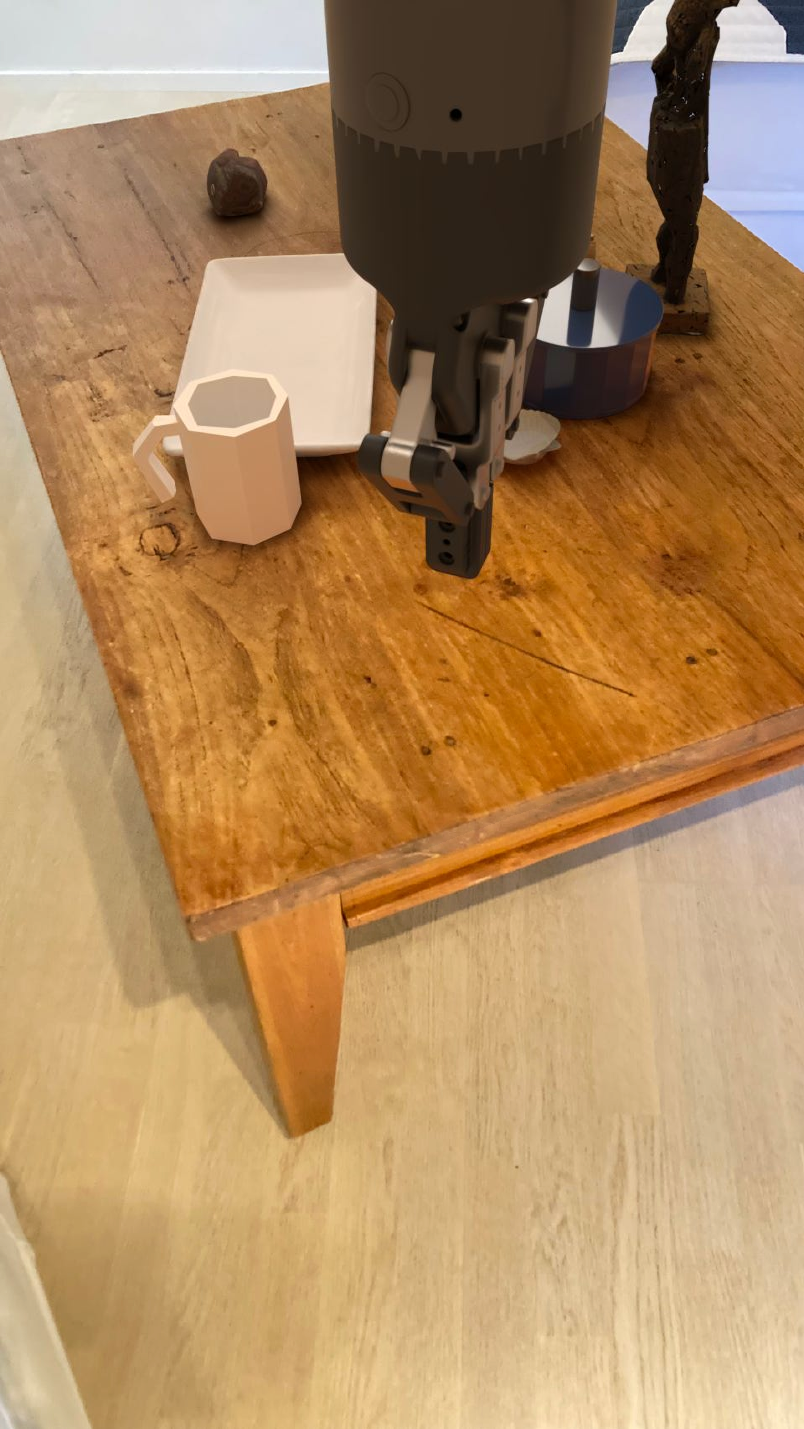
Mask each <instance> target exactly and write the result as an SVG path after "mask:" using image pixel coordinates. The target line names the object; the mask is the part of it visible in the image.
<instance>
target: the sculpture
mask: <svg viewBox="0 0 804 1429" xmlns="http://www.w3.org/2000/svg"><path fill="white" fill-rule="evenodd" d="M740 2H741V0H673V3H672V5H671V7H670V9H669V11H668V13H667V16H666V18H665V28H666V36H665V42H666V44H665V45H664V46H663V48H661V50H660V51H659V52H658V53H657V55H656V56H655V57H653V60H652V62H651V66H650V70H651V72H652V74H653V75H654V82H655V88H656V96H654V97H653V100H652V105H651V111H650V113H649V114H650V115H649V120H648V121H649V130H648V131H649V132H648V138H647V140H648V141H647V152H646V161H645V170H646V172H645V173H646V177H645V178H646V181H647V182H648V184H649V187H650V189H651V191H652V193H653V196H654V198H655V200H656V202H657V205H658V207H659V209H660V211H661V214H662V216H663V218H664V220H663V222H662V223H661V224H660V226H659V227H658V230H657V233H656V236H655V243H656V249H657V251H658V263H657V264H646V263H627V265H626V266H625V271H624V273H626V274H629V275H631V276H633V277H636V278H638V279H640V280H641V281H643V282H645V283H646V284H648V285H649V286H650V287H651V288H653V289H654V290H655V291H656V293H657V294H658V295H659V297H660V298H661V300H662V303H663V307H664V311H663V318H662V322H661V324H660V326H659V328H658V329H657V332H656V334H660V333H664V334H665V333H671V334H688V335H698V336H699V335H704V334H705V333H707V332H709V331H708V327H709V326H708V325H709V323H710V315H711V307H710V298H709V282H708V275H707V270H706V269H704V268H696V267H693V265H694V257H695V253H696V249H697V247H698V246H697V245H698V241H699V238H700V228H699V225H698V224H697V223H698V219H699V218H698V217H699V212H700V210H701V208H702V204H703V197H704V191H705V188H704V185H705V184H708V183H709V181H710V174H709V173H710V172H709V144H710V142H709V135H710V90H711V78H712V77H711V76H712V70H713V69H712V68H713V62H714V58H715V55H716V51H717V49H718V48H717V47H718V44H719V42H720V40H721V26H719V25H718V21H717V19H718V17H719V16H720V14H721V13H722V11H723V10H724V9H728V8H732V7H733V8H737V7H738V5H739V4H740ZM679 311H683V312H680V313H679ZM691 327H692V328H691Z"/></svg>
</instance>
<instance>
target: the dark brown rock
mask: <svg viewBox="0 0 804 1429" xmlns="http://www.w3.org/2000/svg"><path fill="white" fill-rule="evenodd" d="M206 190H207V195H208V199H209V201H210V204H211V206H212V208H213V210H214V212H215V214H216V215H218V216H219V217H235V216H244V215H249V214H253V213H256V212H258V211H259V210H260V209H262V207H263V206H264V201H265V199H266V193H267V190H268V178H267V175H266V172H265V170H264V169H263V167H262V166H261V164H260V161H259V160H258V159H256V158H254V157H251V156H240V154H239V152H238V150H237V149H235V148H230V147H229V148H226V149H224V150H223V151H222V152H221V153H220V154H218V155H216V157H215V158H214V159H213V160H211V162H210V165H209V167H208V171H207V175H206Z"/></svg>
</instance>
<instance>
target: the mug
mask: <svg viewBox="0 0 804 1429" xmlns="http://www.w3.org/2000/svg"><path fill="white" fill-rule="evenodd" d="M173 409H174V413H175V415H170V414H168V415H167V414H165V415H160V414H159V415H154V417H153V418H152V419H151V420H150V422H149V423H148V424H147V425H146V427H145V428H144V430H143V431H141V433H140V435H139V436H138V437H137V439H135V441H133V446H132V455H131V458H132V460H133V461H134V463H135V465H136V466H137V468H138V469H139V471H140V472H141V474H142V475H143V477H144V478H145V480H146V481H147V483H148V484H149V486H150V487H151V489H152V491H153V492H154V494H155V495H156V497H157V498H158V499H159V502H161V503H162V504H163V503H165V502H167V501H169V500H172V499H173V498H174V497H175V495H176V493H177V489H176V483H175V479H174V478H173V477H172V476H171V474H170V473H169V471H168V470H167V469H166V468H165V466H164V465H163V463H162V462H161V461H160V459H159V458H158V457H157V456H156V454H155V453H154V450H155V449H156V448H157V446H158V445H159V443H160V442H161V441H162V440H163V438H164V437H169V436H176V435H179V436H180V440H181V445H182V449H183V454H184V457H183V458H184V463H185V467H186V471H187V472H186V473H187V476H188V481H189V484H190V489H191V494H192V499H193V503H194V507H195V508H194V509H195V511H196V514H197V517H198V518H199V520H200V522H201V523H202V525H203V526H204V528H205V530H206V532H207V533H208V535H209V536H210V538H211V539H213V540H219V541H225V542H231V543H235V544H241V545H242V544H243V545H249V546H255V545H258V544H260V543H262V542H265V541H267V540H269V539H271V538H274V537H276V536H278V535H280V534H283V533H284V532H287V531H289V530H291V529H292V527H293V524H294V522H295V520H296V518H297V515H298V513H299V510H300V508H301V506H302V496H301V486H300V480H299V478H300V477H299V471H298V463H297V457H296V454H295V446H294V438H293V430H292V422H291V414H290V406H289V398H288V395H287V393H286V392H285V391H284V389H283V388H282V387H281V385H280V384H279V383H278V381H277V380H276V379H275V377H274V376H273V375H272V374H265V373H258V372H251V371H244V370H237V369H231V370H227V371H224V372H221V373H217V374H214V375H211V376H208V377H204V378H201V379H198V380H194V381H191V382H189V384H188V385H187V386H186V388H185V389H184V391H183V392H182V393H181V395H180V396H179V398H178V399H177V400H176V402H175V403H174V405H173Z"/></svg>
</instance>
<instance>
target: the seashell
mask: <svg viewBox="0 0 804 1429" xmlns="http://www.w3.org/2000/svg"><path fill="white" fill-rule="evenodd" d="M519 418H520V423H519V428H518V430H517V432H515V434H514V437H513V439H512V440H511V441H510V440H505V445H504V457H503V460H505V463H506V464H512V465H520V466H521V465H523V466H524V465H525V466H526V465H527V466H528V465H532V464H536V463H537V462H539V461H540V460H541V459H542V458H543V457H544V456H546V454H547V453H549V452H552V451H555V450H560V449H561V448H562V445H561V443H560V442H559V441H558V437H559V434H560V432H561V430H562V424H561V422H560V421H559V419H558V418H556V417H553V416H552V415H550V414H547V413H545V412H540V411H539V410H538V411H533V410H531V409H524V408H521V410H520V415H519Z"/></svg>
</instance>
